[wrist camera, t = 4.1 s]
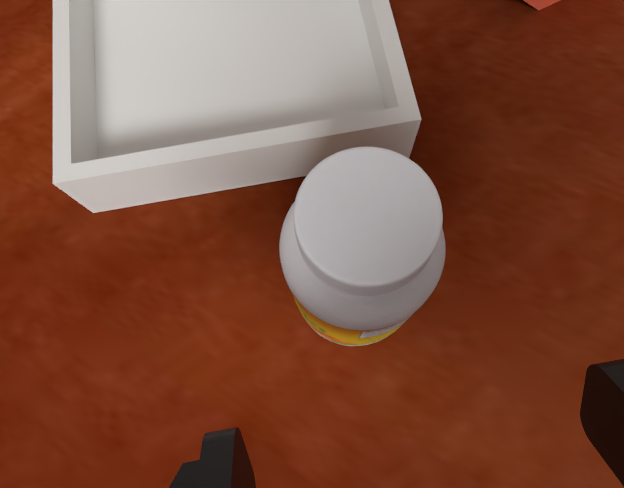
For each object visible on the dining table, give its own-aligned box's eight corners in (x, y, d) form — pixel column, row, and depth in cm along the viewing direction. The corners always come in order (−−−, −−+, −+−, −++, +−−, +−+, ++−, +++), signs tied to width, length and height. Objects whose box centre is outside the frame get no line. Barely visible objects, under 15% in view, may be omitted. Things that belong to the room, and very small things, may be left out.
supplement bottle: (276, 263, 22) (233, 171, 13) (377, 214, 23) (405, 92, 13) (327, 368, 21) (321, 352, 11) (434, 314, 21) (512, 255, 12)
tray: (348, -78, 28) (350, -140, 25) (409, 157, 23) (421, 119, 20) (86, -32, 28) (52, -89, 25) (93, 213, 23) (53, 183, 20)
